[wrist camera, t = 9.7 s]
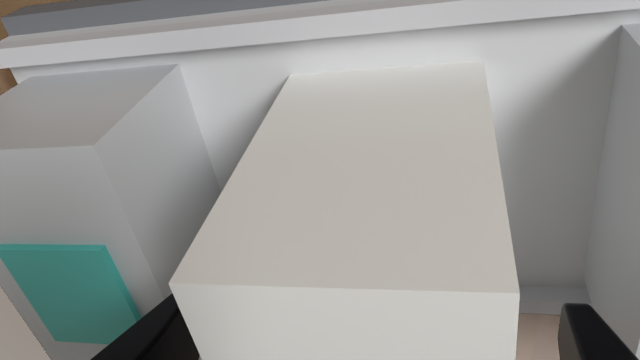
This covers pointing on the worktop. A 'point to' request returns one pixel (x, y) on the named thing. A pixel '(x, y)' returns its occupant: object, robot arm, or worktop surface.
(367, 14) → the rail board
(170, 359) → the robot arm
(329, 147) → the block
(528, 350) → the worktop surface
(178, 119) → the block
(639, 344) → the block
